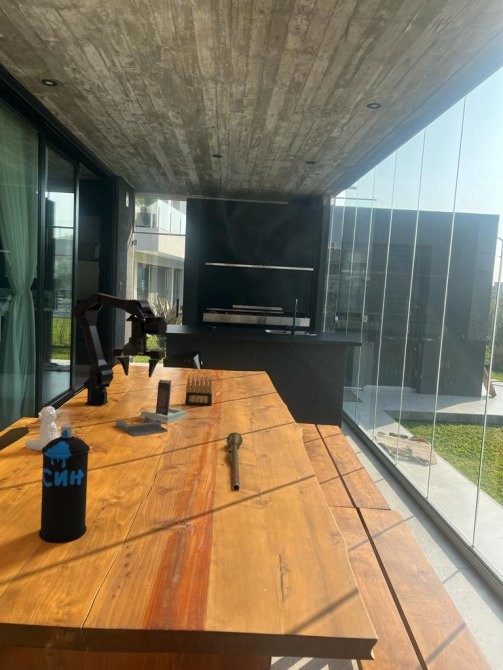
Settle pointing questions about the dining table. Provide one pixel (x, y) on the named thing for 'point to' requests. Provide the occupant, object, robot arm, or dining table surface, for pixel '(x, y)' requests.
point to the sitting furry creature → (45, 429)
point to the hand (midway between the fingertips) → (138, 376)
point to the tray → (172, 416)
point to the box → (163, 397)
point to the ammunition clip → (199, 392)
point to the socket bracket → (142, 427)
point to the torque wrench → (234, 455)
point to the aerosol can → (64, 488)
